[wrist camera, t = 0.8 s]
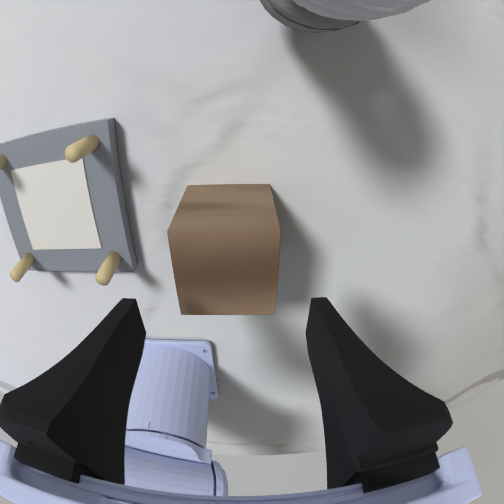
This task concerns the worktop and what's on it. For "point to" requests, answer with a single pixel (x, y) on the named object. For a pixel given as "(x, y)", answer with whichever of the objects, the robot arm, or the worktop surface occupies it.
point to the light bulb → (333, 12)
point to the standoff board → (67, 201)
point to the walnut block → (226, 250)
